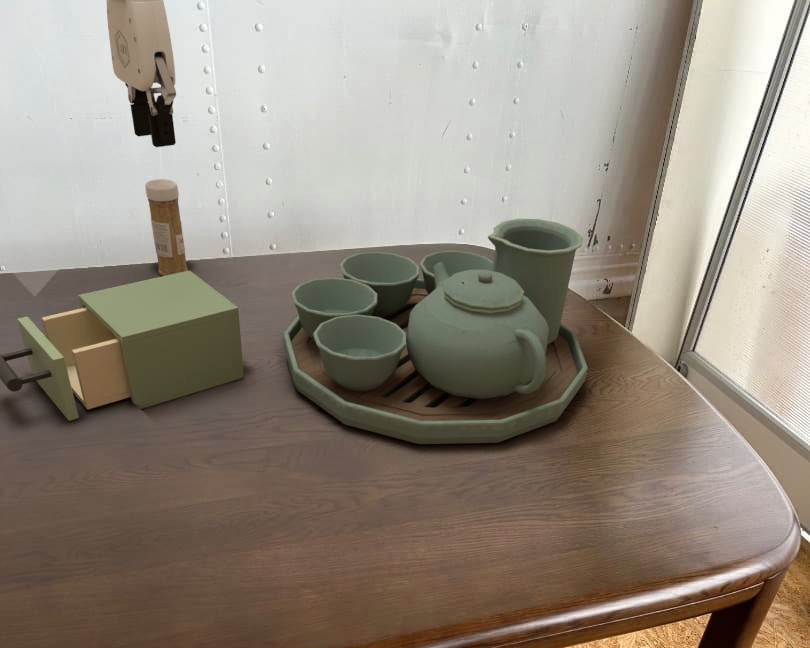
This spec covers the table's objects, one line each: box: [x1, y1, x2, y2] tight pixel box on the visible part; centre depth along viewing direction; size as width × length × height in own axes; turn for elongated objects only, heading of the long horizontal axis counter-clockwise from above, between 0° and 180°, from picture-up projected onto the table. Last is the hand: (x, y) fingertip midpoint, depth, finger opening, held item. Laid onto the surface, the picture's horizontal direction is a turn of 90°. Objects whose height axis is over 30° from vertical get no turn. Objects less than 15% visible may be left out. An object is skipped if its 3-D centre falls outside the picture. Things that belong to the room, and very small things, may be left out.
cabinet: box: [78, 269, 245, 410], centre depth 98 cm, size 15×13×10 cm
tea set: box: [282, 218, 589, 445], centre depth 101 cm, size 40×40×16 cm
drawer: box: [0, 307, 131, 421], centre depth 92 cm, size 18×11×8 cm, turn 128°
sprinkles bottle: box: [145, 178, 189, 277], centre depth 119 cm, size 5×5×14 cm
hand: (155, 138), depth 110 cm, fingers open, 4 cm apart
